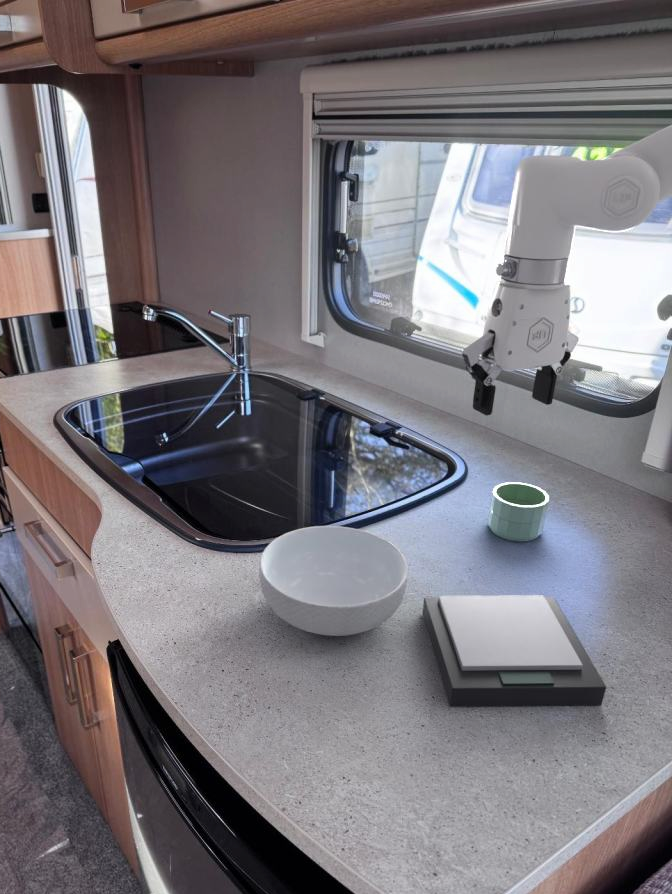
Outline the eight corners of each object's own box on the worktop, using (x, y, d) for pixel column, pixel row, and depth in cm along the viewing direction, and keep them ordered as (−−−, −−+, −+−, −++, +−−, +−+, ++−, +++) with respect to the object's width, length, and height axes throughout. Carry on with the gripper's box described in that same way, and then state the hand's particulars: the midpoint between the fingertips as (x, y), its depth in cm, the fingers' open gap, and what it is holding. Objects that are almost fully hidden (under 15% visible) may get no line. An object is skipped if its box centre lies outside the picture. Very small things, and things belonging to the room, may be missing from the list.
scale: (550, 613, 84) (555, 592, 83) (601, 705, 71) (608, 682, 70) (422, 614, 84) (424, 593, 82) (449, 707, 71) (453, 683, 69)
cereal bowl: (394, 671, 75) (400, 616, 72) (241, 646, 79) (239, 593, 75) (410, 582, 90) (415, 532, 86) (280, 564, 93) (280, 516, 90)
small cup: (532, 516, 105) (539, 482, 102) (549, 542, 98) (556, 507, 95) (481, 516, 104) (486, 482, 102) (495, 543, 98) (501, 507, 95)
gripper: (495, 282, 80) (475, 426, 88) (612, 271, 86) (583, 406, 95) (455, 270, 86) (440, 406, 94) (567, 260, 92) (544, 389, 101)
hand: (512, 406), depth 94 cm, fingers open, 9 cm apart
